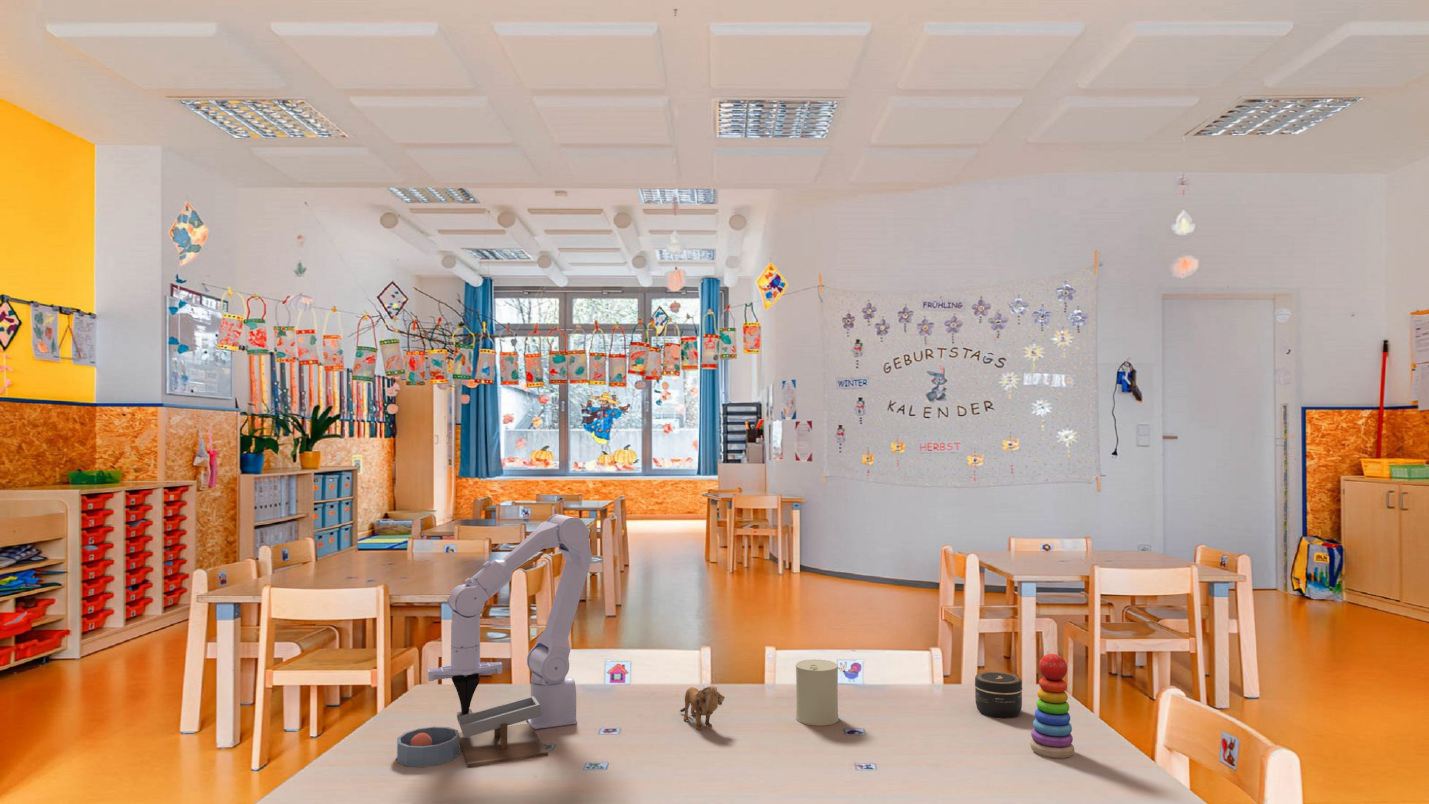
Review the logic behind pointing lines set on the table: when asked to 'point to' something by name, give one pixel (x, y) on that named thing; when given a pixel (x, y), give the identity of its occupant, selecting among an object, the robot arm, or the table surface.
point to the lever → (498, 716)
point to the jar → (998, 694)
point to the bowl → (428, 747)
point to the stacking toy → (1052, 711)
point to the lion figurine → (702, 703)
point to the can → (817, 692)
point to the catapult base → (501, 745)
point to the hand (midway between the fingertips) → (465, 712)
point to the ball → (421, 740)
